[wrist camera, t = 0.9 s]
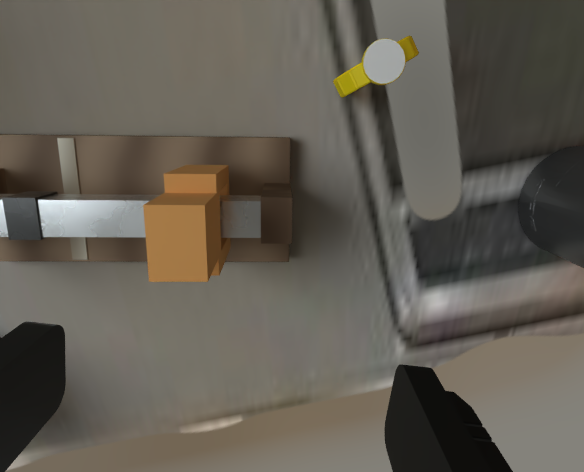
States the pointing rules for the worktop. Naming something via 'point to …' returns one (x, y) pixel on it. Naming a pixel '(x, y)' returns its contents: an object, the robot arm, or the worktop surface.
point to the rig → (145, 186)
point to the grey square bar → (107, 215)
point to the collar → (187, 225)
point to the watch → (378, 65)
